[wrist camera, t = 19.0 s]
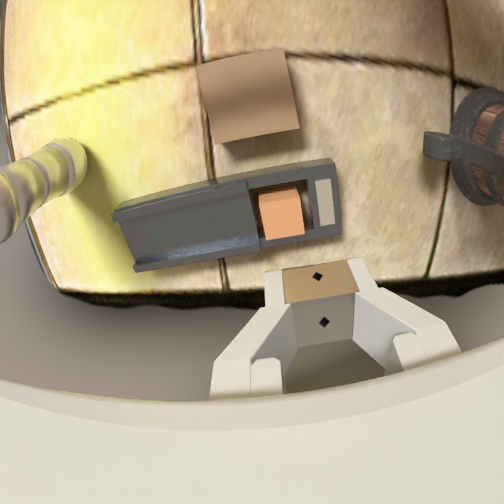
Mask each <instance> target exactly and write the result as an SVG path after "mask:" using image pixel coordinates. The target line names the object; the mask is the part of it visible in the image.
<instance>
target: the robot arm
mask: <svg viewBox="0 0 504 504" xmlns="http://www.w3.org/2000/svg"><path fill="white" fill-rule="evenodd" d="M264 281H265V307H263V308H260V309H259V310H258V311H257V313H256V314H255V315H254V316H253V317H252V319H251V320H250V321H249V322H248V323H247V324H246V326H245V327H244V328H243V329H242V330H241V331H240V333H239V334H238V335H237V336H236V338H235V339H234V340H233V341H232V342H231V343H230V344H229V345H228V347H227V348H226V349H225V350H224V351H223V352H222V353H221V355H220V356H219V357H218V358H217V359H216V360H215V362H214V366H213V374H212V382H211V390H210V399H209V400H150V399H133V398H119V397H108V396H99V395H90V394H82V393H75V392H68V391H62V390H56V389H50V388H45V387H40V386H35V385H30V384H25V383H21V382H17V381H13V380H9V379H5V378H2V377H0V504H504V336H503V337H500V338H498V339H496V340H494V341H491V342H488V343H486V344H484V345H481V346H479V347H476V348H473V349H471V350H468V351H465V352H463V353H462V352H461V350H460V348H459V346H458V344H457V342H456V340H455V339H454V337H453V335H452V333H451V331H450V330H449V328H448V326H447V324H446V323H445V321H443V320H441V319H439V318H437V317H436V316H434V315H432V314H430V313H429V312H427V311H425V310H423V309H421V308H420V307H418V306H416V305H414V304H412V303H410V302H409V301H407V300H405V299H403V298H401V297H400V296H398V295H396V294H394V293H392V292H390V291H388V290H387V289H385V288H378V286H377V284H376V282H375V280H374V278H373V276H372V275H371V273H370V271H369V269H368V267H367V265H366V263H365V261H364V259H363V257H361V256H359V257H354V258H349V259H345V260H340V261H335V262H329V263H323V264H317V265H308V266H301V267H293V268H286V269H282V270H281V269H278V270H272V271H265V274H264ZM347 339H353V341H354V342H356V343H357V344H358V345H359V346H360V347H361V348H362V349H363V350H364V351H366V352H367V353H368V354H369V355H370V356H371V357H372V358H373V359H375V360H376V361H377V362H378V363H379V364H380V365H381V366H382V367H384V368H385V373H384V377H379V378H375V379H371V380H366V381H362V382H357V383H352V384H347V385H342V386H337V387H331V388H326V389H319V390H313V391H306V392H299V393H291V394H287V392H286V387H285V382H284V377H283V375H284V373H285V372H286V370H287V368H288V366H289V364H290V362H291V361H292V358H293V357H294V355H295V353H296V351H297V348H300V347H305V346H311V345H316V344H322V343H328V342H334V341H341V340H347Z"/></svg>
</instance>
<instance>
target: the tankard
mask: <svg viewBox="0 0 504 504" xmlns="http://www.w3.org/2000/svg"><path fill="white" fill-rule="evenodd" d="M423 154H424V155H425V156H427V157H429V158H432V159H436V160H441V161H450V165H451V169H452V173H453V177H454V179H455V181H456V184H457V186H458V188H459V189H460V191H461V192H462V193H463V195H464V196H465V197H466V198H467V199H468V200H470V201H471V202H473V203H475V204H477V205H482V206H488V205H493V204H495V203H499V204H501V205H503V206H504V94H503V93H502V92H500V91H498V90H496V89H494V88H489V87H484V88H478V89H476V90H474V91H472V92H471V93H470V94H468V95H467V96H466V97H465V98H464V99H463V101H462V102H461V104H460V105H459V107H458V109H457V111H456V113H455V115H454V118H453V122H452V126H451V130H450V135H449V134H444V133H438V132H429V131H427V132H425V133H424V141H423Z"/></svg>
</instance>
